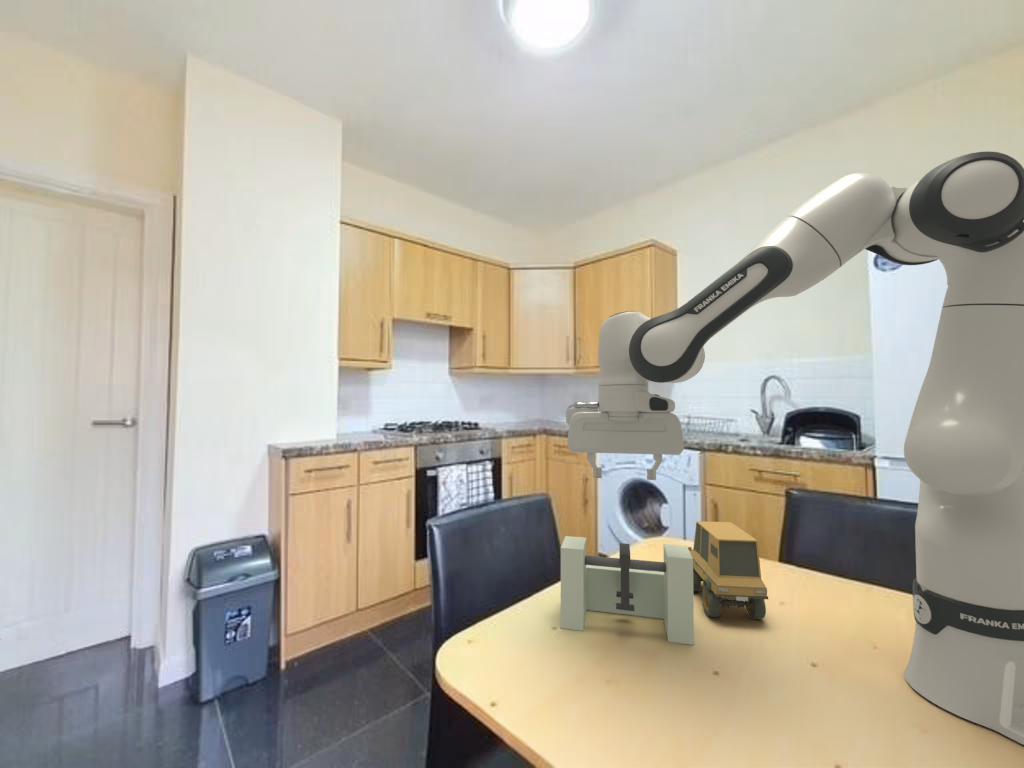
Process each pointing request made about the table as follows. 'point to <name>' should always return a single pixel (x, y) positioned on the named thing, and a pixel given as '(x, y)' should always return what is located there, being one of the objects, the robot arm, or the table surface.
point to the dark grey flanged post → (624, 579)
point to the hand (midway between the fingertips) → (624, 478)
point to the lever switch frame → (651, 583)
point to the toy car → (727, 569)
